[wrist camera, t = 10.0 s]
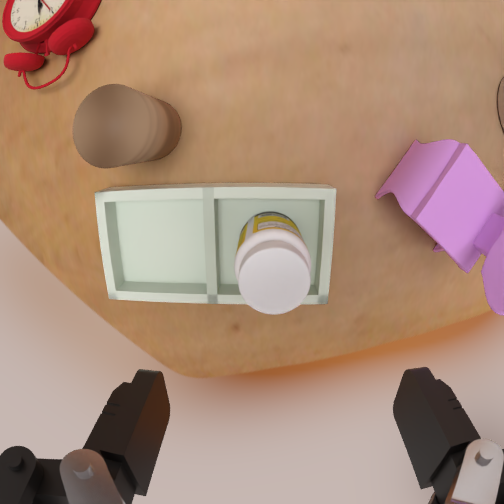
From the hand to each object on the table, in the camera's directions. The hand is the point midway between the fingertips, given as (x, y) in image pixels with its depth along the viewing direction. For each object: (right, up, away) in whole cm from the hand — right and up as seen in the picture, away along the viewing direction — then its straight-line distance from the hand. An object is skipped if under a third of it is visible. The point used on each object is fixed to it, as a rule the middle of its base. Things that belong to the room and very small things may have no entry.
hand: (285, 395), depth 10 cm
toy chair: (+14, +9, +15) cm, 23 cm away
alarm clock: (-19, +27, +11) cm, 35 cm away
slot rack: (-4, +6, +17) cm, 18 cm away
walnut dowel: (-9, +14, +14) cm, 22 cm away
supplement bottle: (0, +6, +16) cm, 17 cm away
